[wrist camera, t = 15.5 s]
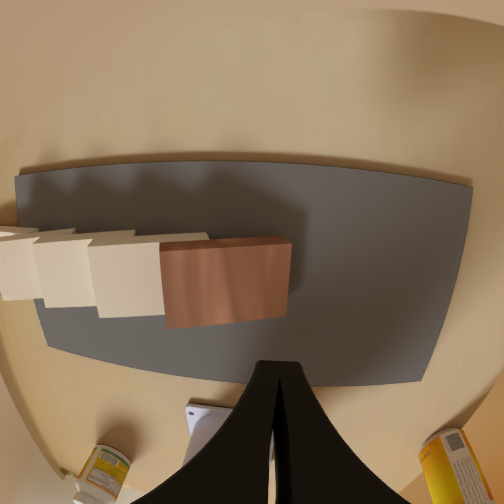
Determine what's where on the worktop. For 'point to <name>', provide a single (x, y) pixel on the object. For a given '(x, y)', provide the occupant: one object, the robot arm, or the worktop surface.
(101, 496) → the supplement bottle
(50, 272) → the ivory domino
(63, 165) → the worktop surface
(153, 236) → the ivory domino
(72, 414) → the worktop surface
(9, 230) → the ivory domino
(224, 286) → the terracotta domino
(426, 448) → the beer can
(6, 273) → the ivory domino
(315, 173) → the charcoal mat
